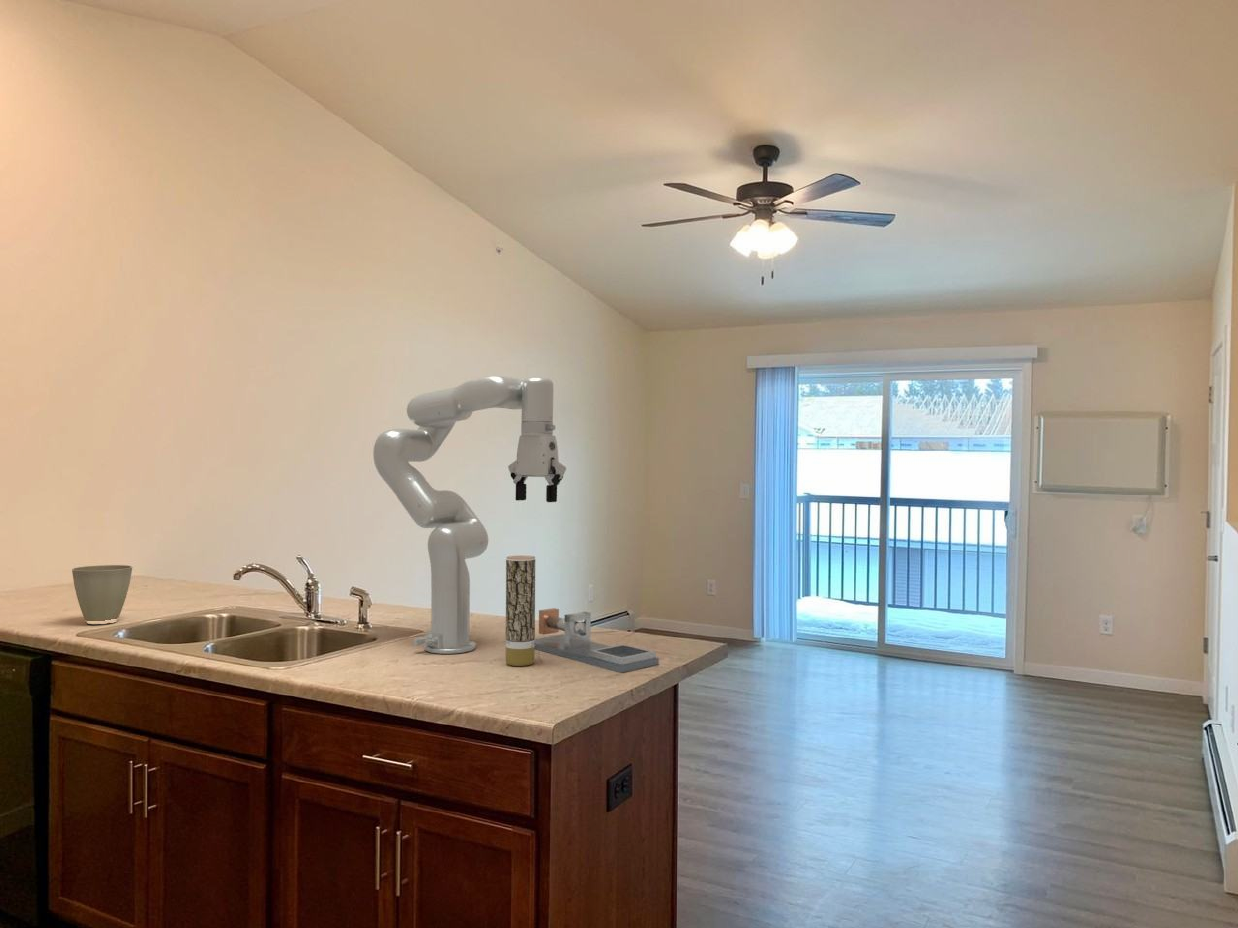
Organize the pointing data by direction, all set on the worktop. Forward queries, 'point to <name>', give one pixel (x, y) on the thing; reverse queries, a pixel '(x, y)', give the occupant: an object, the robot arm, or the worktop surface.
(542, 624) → the shaft
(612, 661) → the shaft frame
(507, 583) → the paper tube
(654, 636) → the worktop surface
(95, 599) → the plant pot
